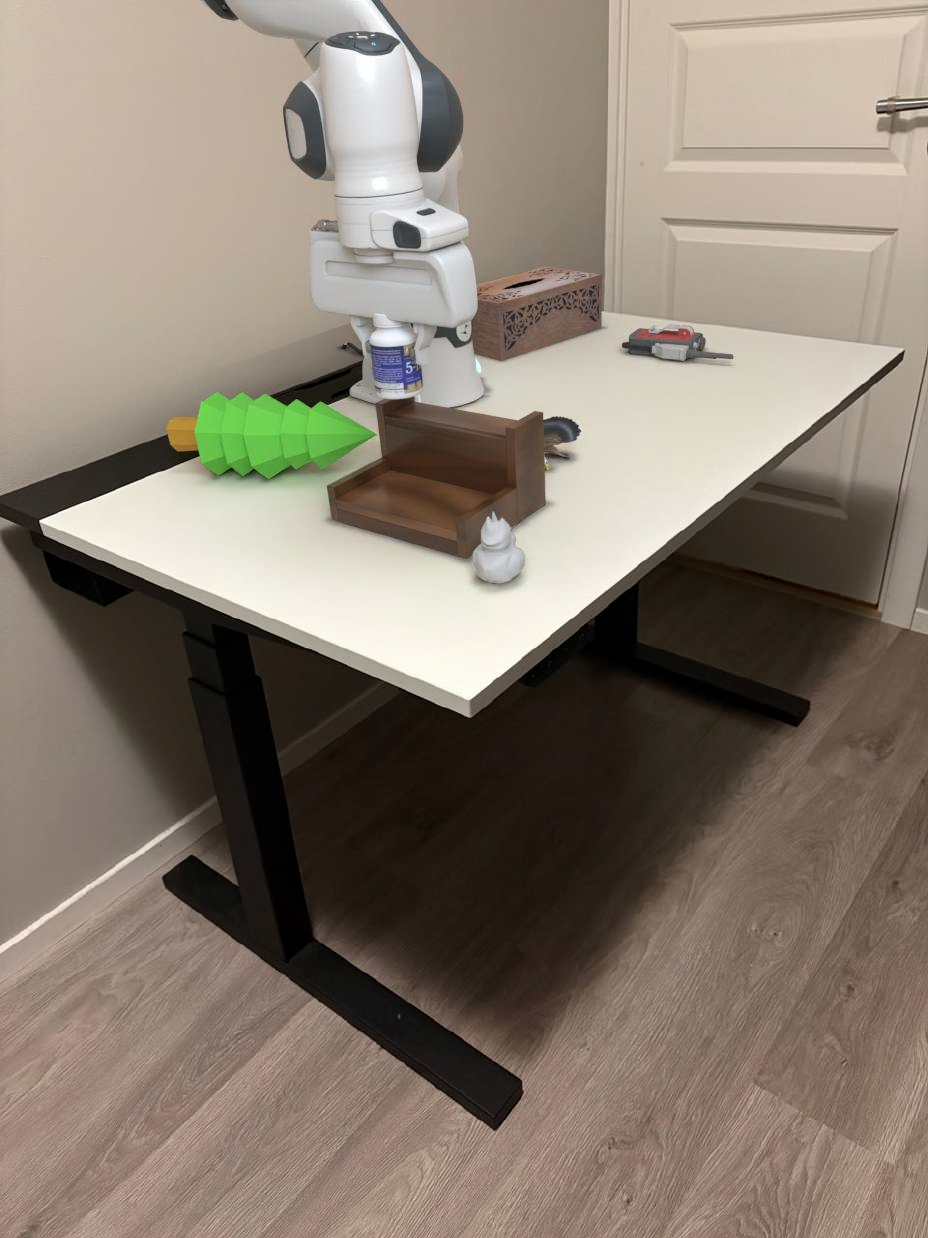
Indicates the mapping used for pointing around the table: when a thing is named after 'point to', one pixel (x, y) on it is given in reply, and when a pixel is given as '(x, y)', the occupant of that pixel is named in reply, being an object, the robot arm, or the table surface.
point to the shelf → (444, 475)
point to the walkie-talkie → (670, 343)
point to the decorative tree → (265, 434)
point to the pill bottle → (394, 359)
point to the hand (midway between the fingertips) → (396, 360)
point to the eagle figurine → (558, 435)
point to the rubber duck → (497, 552)
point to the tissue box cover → (535, 311)
